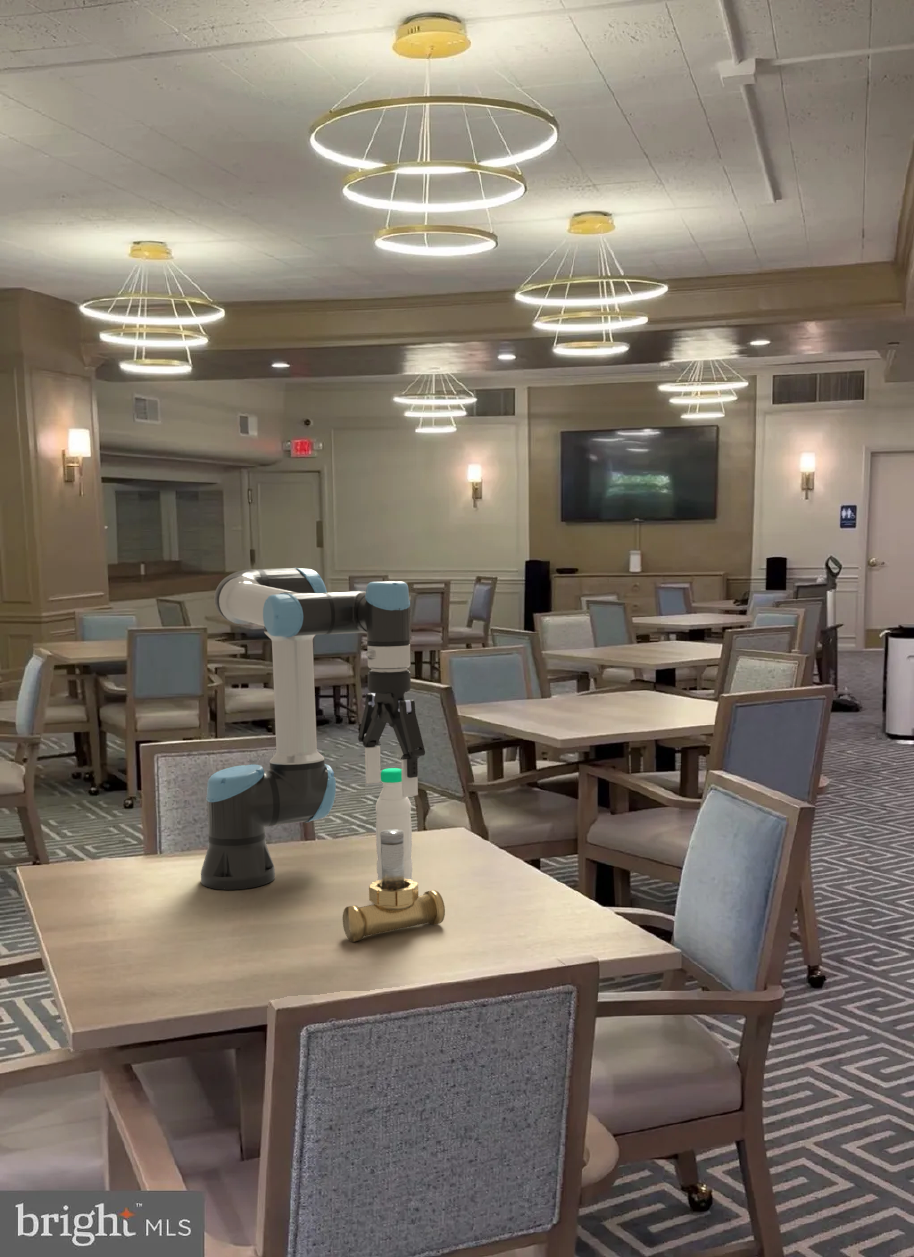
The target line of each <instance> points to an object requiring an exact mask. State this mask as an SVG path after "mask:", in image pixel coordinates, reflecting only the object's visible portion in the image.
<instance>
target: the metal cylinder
mask: <svg viewBox="0 0 914 1257" xmlns="http://www.w3.org/2000/svg"><path fill="white" fill-rule="evenodd" d="M380 839H381V867H382V889H390V890H397V889H402V888H405V882H404V832H403V831H402V830H398V829H389V830H383V831H381V833H380Z"/></svg>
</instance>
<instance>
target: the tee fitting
mask: <svg viewBox="0 0 914 1257" xmlns="http://www.w3.org/2000/svg"><path fill="white" fill-rule="evenodd" d="M377 880H378V879H377ZM377 880H375V881H372V883H370V884H369V885H368V899H369V901H370V902H372V904H371V905H365V906H361V907H359V906H358V905H349V906H346V907H345V908H344V909H343V912H342V928H343V931H344V934H345V936H346V938H347V940H348V941H350V942H352V943H355V942H359V941H362V940H363V939H364V937H368V936H373V935H377V934H382V933H383V934H384V933H387V932H392V931H396V930H403V929H406V928H411V927H416V926H421V925H425V924H428V925H431V926H434V925H439V924H440V925H441V924H442V923H443V922H444V920H445V916H446V909H445V908H446V906H445V903H444V902H445V901H444V899H443V896H442V895H441V894H440V892H439V891H438V890H435V889H432V890H428V891H427V890H426V891H424V892H423V894H422V895H419V882H417V881H414V880H413V879H412V880H410V879H404V882H405V888H402V889H397V890H390V889H382V880H378V881H377Z"/></svg>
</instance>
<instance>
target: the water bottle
mask: <svg viewBox="0 0 914 1257" xmlns="http://www.w3.org/2000/svg"><path fill="white" fill-rule="evenodd" d="M380 783H381V784H382V789H381V791H380V793H379V797H378V798H377V801H376V803H375V813H376V819H375V820H376V821H375V838H376V839H375V840H376V841H375V843H376V854H377V861H376V873H377V879H376V881H378V880H382V867H381V839H380V833H381V831H383V830H389V829H398V830H402V831H403V832H404V879H410V880H413V860H412V850H413V849H412V848H413V847H412V846H413V841H412V839H413V838H412V836H413V832H412V818H411V817H412V816H411V815H412V814H411V810H412V804H411V800H410V799H409V796H408V797H403V796H402V768H398V767H390V768H388V767H387V768H384V769H382V770H381V782H380Z"/></svg>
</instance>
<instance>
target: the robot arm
mask: <svg viewBox="0 0 914 1257" xmlns="http://www.w3.org/2000/svg"><path fill="white" fill-rule="evenodd" d="M213 599H214V600H213V602H214V606H215V609H216V611H217V613H218V614H219V616H220V617H222V618H223V619H224V620H226V621H228V622H231V623H233V624H236V625H257V626H263V632H264V634H265V635H266V636H267V637H268V638H269V639H270V640H271V648H272V674H273V701H274V702H273V703H274V721H275V722H274V723H275V724H274V725H275V728H274V729H275V745H276V746H275V747H276V750H275V754H274V755H273V756H272V757H271V758H270V760H269V770H265V769H264V768H263V765H261V764H245V765H244V764H243V765H235V766H231V767H227V768H224V769H220V770H218V771H216V772H215V773H213V774H211V776H210V777H209V778H208V779H207V782H206V784H207V786H206V796H205V799H206V800H205V801H206V802H207V803H206V804H207V805H206V806H207V833H208V837H207V838H208V845H207V846H208V847H207V848H206V849H207V850H206V854H205V856H204V861H203V864H202V867H201V870H200V883H201V885H203V886H204V887H206V888H209V889H213V890H226V891H231V890H232V891H233V890H245V889H251V888H252V889H253V888H256V887H261V886H264V885H267V884H269V883H271V882H272V881H274V880H275V878H276V875H275V874H276V873H275V870H276V869H275V865H274V862H273V859H272V857H271V853H270V852H269V851H270V850H269V848H268V846H267V843H266V828H267V827H275V826H282V825H289V824H297V823H310V822H311V821H316V820H317V821H318V820H321V819H324V818H326V817H327V816H328V815H329V814H330V812H331V810H332V808H333V806H334V802H335V799H336V788H337V785H336V784H337V781H336V778H335V773H334V770H333V768H332V767H331V765H329V764H326V763H325V757H324V756H323V755H322V754H321V753H320V752H319V751H318V749H317V748H318V747H317V746H318V745H317V744H318V743H317V741H318V739H317V716H316V696H315V695H316V693H315V670H314V668H315V667H314V647H313V646H314V645H313V642H314V640H313V639H314V638H315V636H316V635H338V634H339V635H341V634H343V635H345V634H363V633H364V634H366V645H367V652H366V653H365V656H366V657H367V667H368V668H369V669H371V670H368V672H367V690H368V692H369V693H366V694H365V703H364V704H365V706H364V710H363V714H362V719H361V723H360V727H359V732H358V736H357V737H358V738H357V740H358V742H359V743H362V746H363V747H364V754H365V755H364V758H365V759H364V760H365V761H364V762H365V763H364V764H365V784H366V785H370V784H378V783H381V782H382V781H381V771H382V770H381V769H382V768H381V745H382V744H381V741H380V739H381V736H382V735H383V732H384V731H385V730H384V729H385V728H386V725H387V724H388V725H389V727H391V728H393V731H394V734H395V736H396V740H397V741H398V744H399V748H400V749H401V752H402V755H401V757H400V762H401V769H402V796H403V797H408V798H409V797H413V796H414V797H415V796H418V795H419V792H418V791H419V786H418V785H419V783H418V781H419V780H418V779H419V778H418V776H419V773H418V772H419V771H418V769H419V768H418V760H419V758H420V757H422V756H423V757H424V756H426V749H425V745H424V742H423V738H422V734H421V733H422V732H421V730H420V726H419V722H418V719H417V718H418V717H417V712H416V704H415V700H414V699H406V700H405V693H407V692H410V690H411V688H412V686H411V684H412V682H411V680H412V679H411V675H412V674H411V671H410V670H409V669H408V668H410V667H411V641H410V640H411V632H410V631H411V630H410V629H411V628H410V627H411V623H410V622H411V619H410V616H411V615H410V614H411V613H410V612H411V611H410V610H411V601H410V594H409V586H408V584H407V583H406V582H405V581H398V580H397V581H394V580H393V581H392V580H391V581H390V580H389V581H387V580H386V581H385V580H384V581H370V582H368V584H367V585H366V590H362V589H360V590H351V591H340V592H338V591H336V592H328V591H327V587H326V585H325V582H324V579H322V577H321V575H320V574H319V573H318V571H316V570H314V569H311V568H299V567H292V568H291V567H288V568H260V569H258V568H250V569H248V568H247V569H243V570H239V571H234V572H233V573H231V574H229V575H227V576H226V577H224V578H223V579H222V580H221V581H220V583H218V586H217V587H216V589H215V592H214V596H213Z"/></svg>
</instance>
